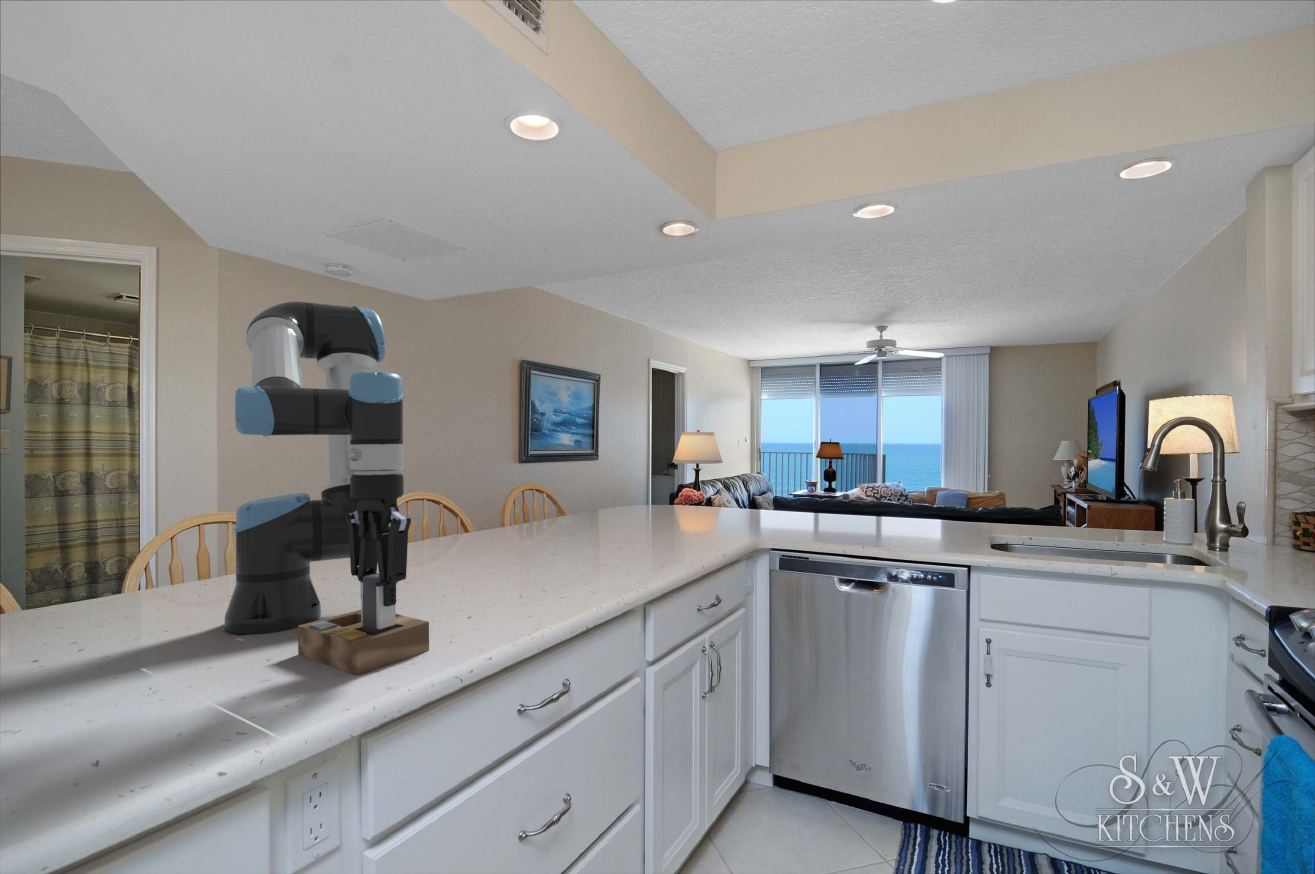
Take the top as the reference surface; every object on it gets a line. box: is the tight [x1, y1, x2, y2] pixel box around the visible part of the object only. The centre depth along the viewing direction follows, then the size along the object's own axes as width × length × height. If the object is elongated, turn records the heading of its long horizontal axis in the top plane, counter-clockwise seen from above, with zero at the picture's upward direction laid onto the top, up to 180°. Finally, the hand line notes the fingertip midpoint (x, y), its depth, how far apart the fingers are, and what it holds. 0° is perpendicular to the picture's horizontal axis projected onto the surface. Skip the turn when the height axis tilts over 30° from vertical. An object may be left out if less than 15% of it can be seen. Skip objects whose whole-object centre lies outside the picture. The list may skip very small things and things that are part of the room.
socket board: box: [297, 609, 430, 676], centre depth 97 cm, size 16×12×5 cm
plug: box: [362, 573, 390, 635], centre depth 94 cm, size 4×4×10 cm
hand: (378, 624), depth 95 cm, fingers closed on plug, 3 cm apart
